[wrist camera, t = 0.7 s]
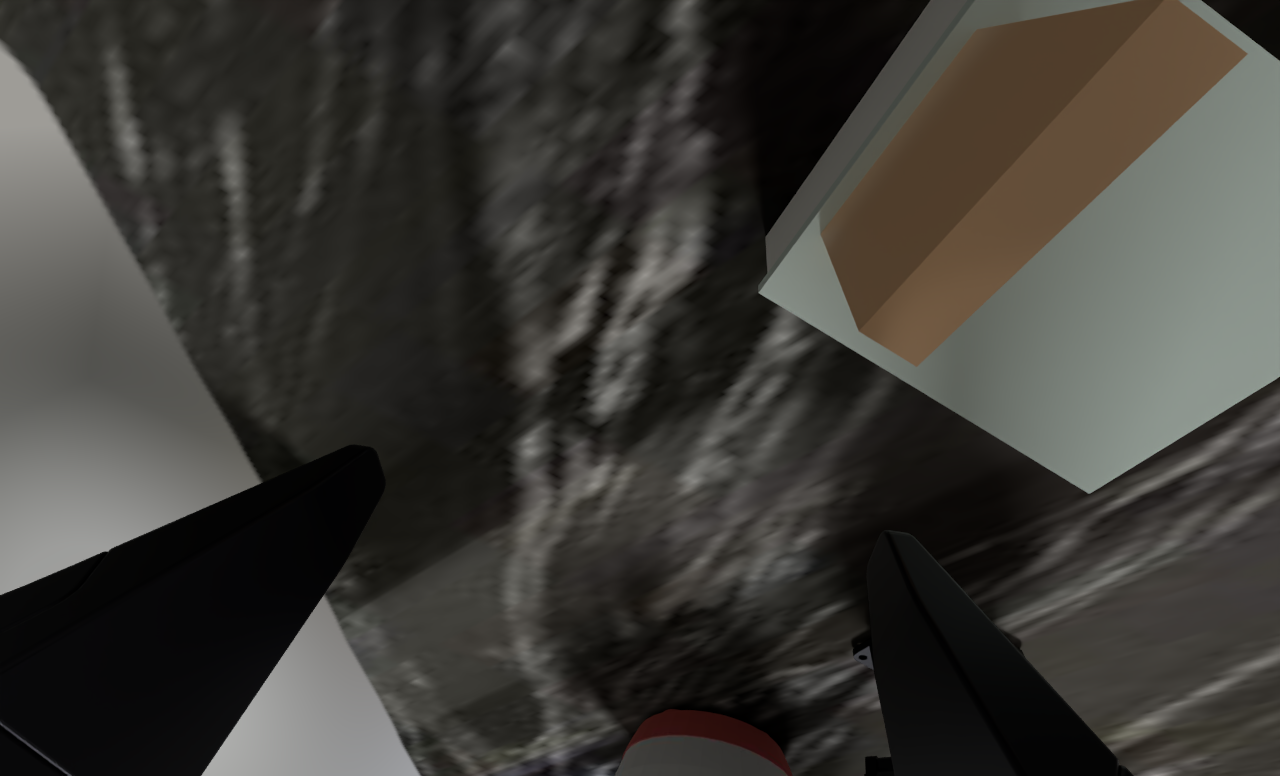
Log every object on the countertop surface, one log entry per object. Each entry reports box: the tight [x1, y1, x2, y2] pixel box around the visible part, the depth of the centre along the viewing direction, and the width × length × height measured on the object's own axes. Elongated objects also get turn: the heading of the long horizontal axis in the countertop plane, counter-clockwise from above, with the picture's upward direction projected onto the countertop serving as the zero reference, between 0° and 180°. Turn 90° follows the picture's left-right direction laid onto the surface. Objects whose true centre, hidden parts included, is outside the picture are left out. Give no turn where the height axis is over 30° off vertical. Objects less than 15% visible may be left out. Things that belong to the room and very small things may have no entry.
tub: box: [766, 0, 967, 272], centre depth 15 cm, size 12×9×5 cm
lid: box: [759, 0, 1280, 494], centre depth 11 cm, size 12×9×8 cm
